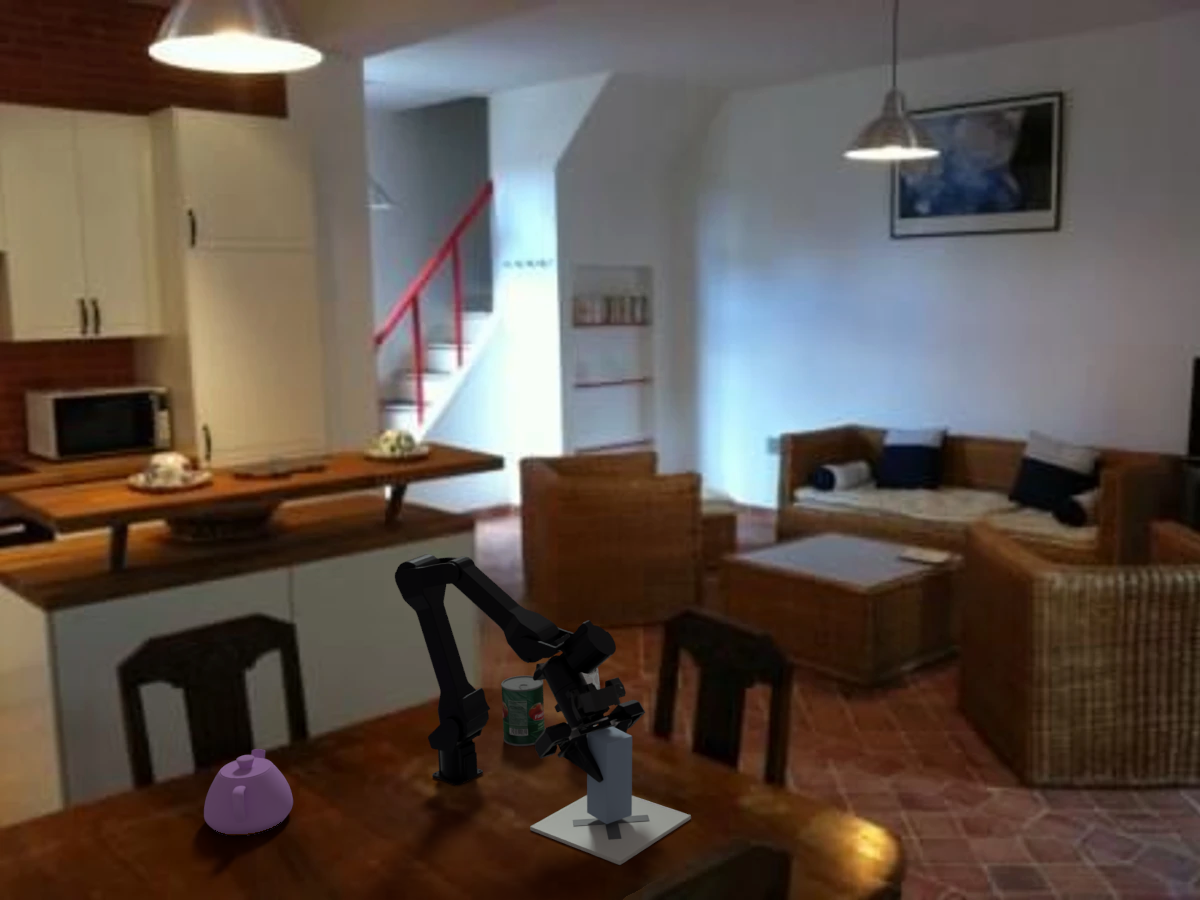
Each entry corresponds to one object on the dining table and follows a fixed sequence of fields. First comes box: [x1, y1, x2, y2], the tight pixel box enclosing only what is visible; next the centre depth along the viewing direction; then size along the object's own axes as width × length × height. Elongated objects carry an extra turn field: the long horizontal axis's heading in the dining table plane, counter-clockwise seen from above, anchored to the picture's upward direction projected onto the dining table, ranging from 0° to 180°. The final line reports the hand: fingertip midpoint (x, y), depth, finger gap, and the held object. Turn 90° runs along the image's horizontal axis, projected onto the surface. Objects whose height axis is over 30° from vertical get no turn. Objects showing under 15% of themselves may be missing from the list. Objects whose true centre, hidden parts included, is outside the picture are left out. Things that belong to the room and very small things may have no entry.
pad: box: [529, 794, 692, 866], centre depth 177 cm, size 18×18×1 cm
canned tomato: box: [500, 675, 546, 747], centre depth 211 cm, size 8×8×11 cm
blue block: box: [586, 726, 633, 824], centre depth 176 cm, size 5×5×13 cm
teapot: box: [203, 748, 294, 834], centre depth 182 cm, size 14×20×11 cm
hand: (615, 776), depth 175 cm, fingers closed on blue block, 5 cm apart
